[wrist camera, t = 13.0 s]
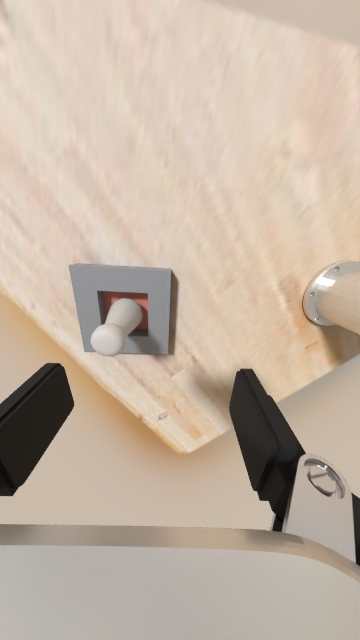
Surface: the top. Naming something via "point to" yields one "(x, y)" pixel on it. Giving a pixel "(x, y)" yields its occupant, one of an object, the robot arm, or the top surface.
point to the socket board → (131, 283)
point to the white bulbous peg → (116, 327)
